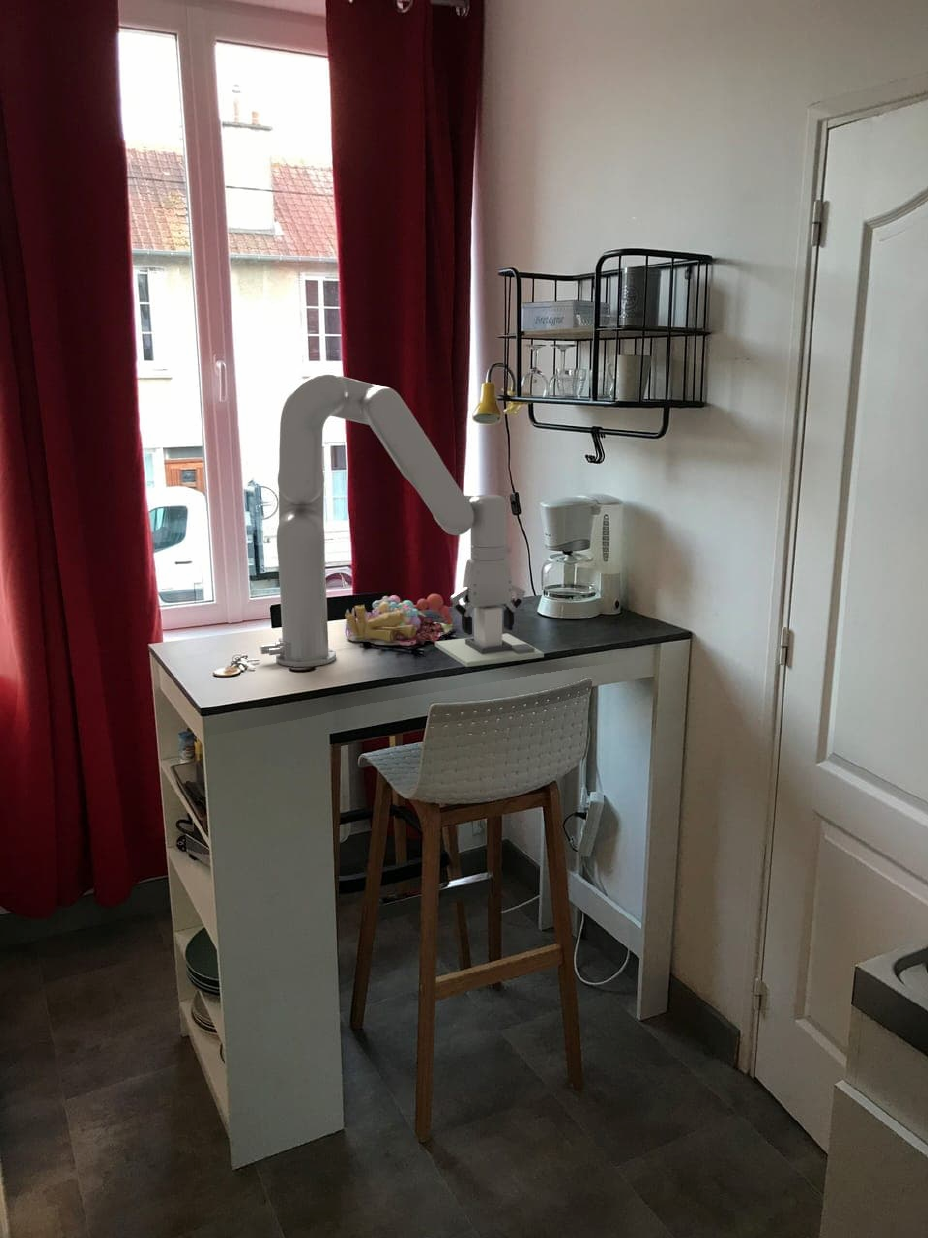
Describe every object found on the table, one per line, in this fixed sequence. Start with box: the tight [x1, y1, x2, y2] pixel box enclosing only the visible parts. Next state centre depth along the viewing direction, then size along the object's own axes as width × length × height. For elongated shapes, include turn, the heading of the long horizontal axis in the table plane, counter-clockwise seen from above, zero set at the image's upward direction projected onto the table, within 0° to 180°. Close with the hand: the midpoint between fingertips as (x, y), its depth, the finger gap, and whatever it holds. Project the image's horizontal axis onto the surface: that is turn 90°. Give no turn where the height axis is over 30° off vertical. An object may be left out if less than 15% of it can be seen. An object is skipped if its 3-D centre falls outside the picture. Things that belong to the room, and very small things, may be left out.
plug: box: [473, 606, 503, 647], centre depth 211 cm, size 6×4×11 cm, turn 23°
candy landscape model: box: [344, 593, 454, 647], centre depth 227 cm, size 25×24×9 cm
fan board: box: [434, 633, 545, 668], centre depth 212 cm, size 18×18×2 cm
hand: (488, 631), depth 212 cm, fingers open, 9 cm apart
